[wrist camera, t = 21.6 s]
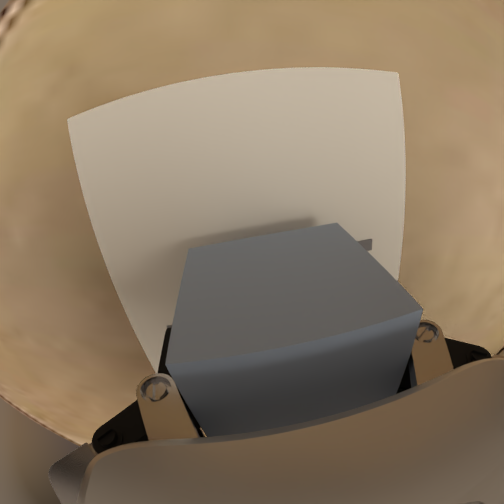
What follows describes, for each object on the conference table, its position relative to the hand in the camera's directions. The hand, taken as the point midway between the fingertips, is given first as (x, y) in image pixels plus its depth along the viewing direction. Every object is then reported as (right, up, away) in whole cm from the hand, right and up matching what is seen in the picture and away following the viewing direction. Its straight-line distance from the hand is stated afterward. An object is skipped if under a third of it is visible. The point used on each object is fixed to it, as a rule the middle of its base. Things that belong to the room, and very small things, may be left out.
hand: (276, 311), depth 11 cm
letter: (0, 0, +3) cm, 3 cm away
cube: (0, 0, +1) cm, 1 cm away
